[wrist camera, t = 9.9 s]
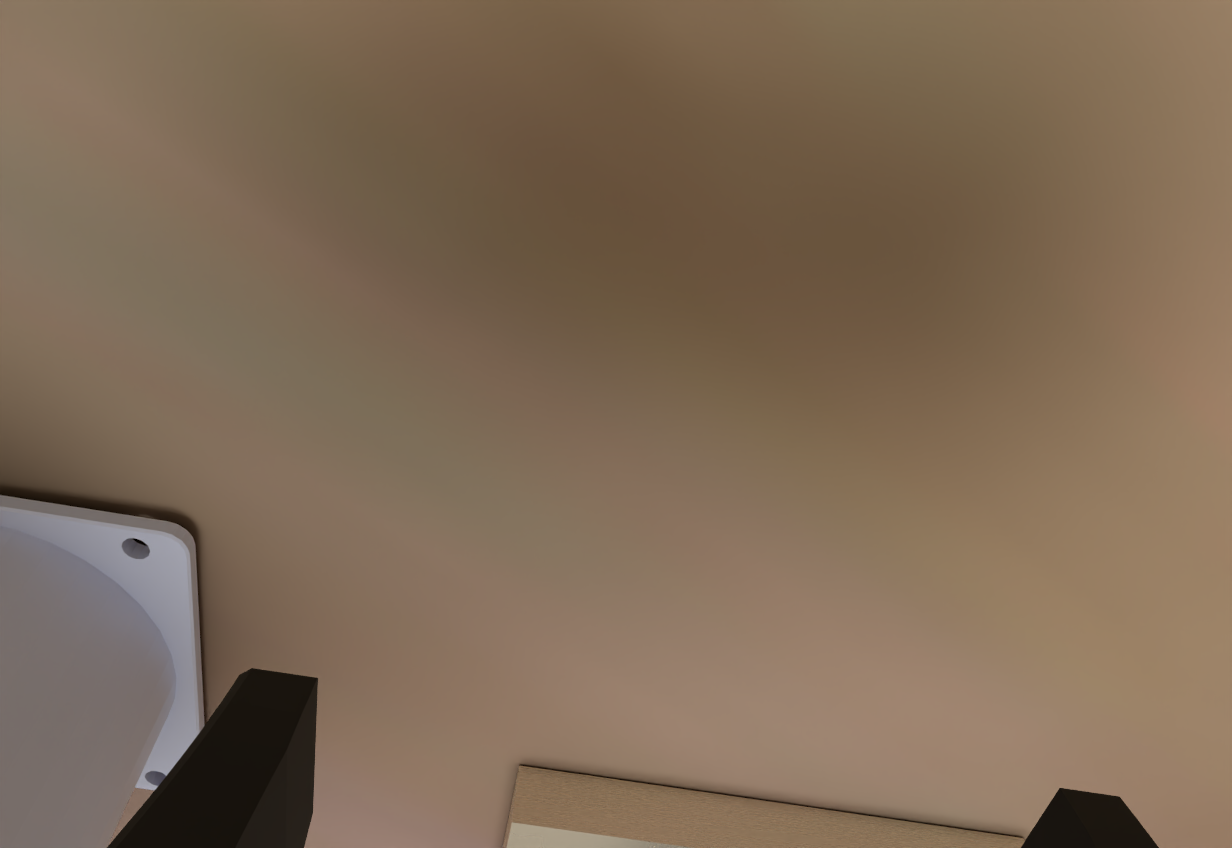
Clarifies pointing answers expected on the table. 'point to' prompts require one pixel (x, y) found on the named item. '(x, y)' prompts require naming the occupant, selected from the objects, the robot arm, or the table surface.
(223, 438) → the table surface
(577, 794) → the shaft fixture
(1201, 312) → the table surface
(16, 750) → the robot arm
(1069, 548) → the table surface
